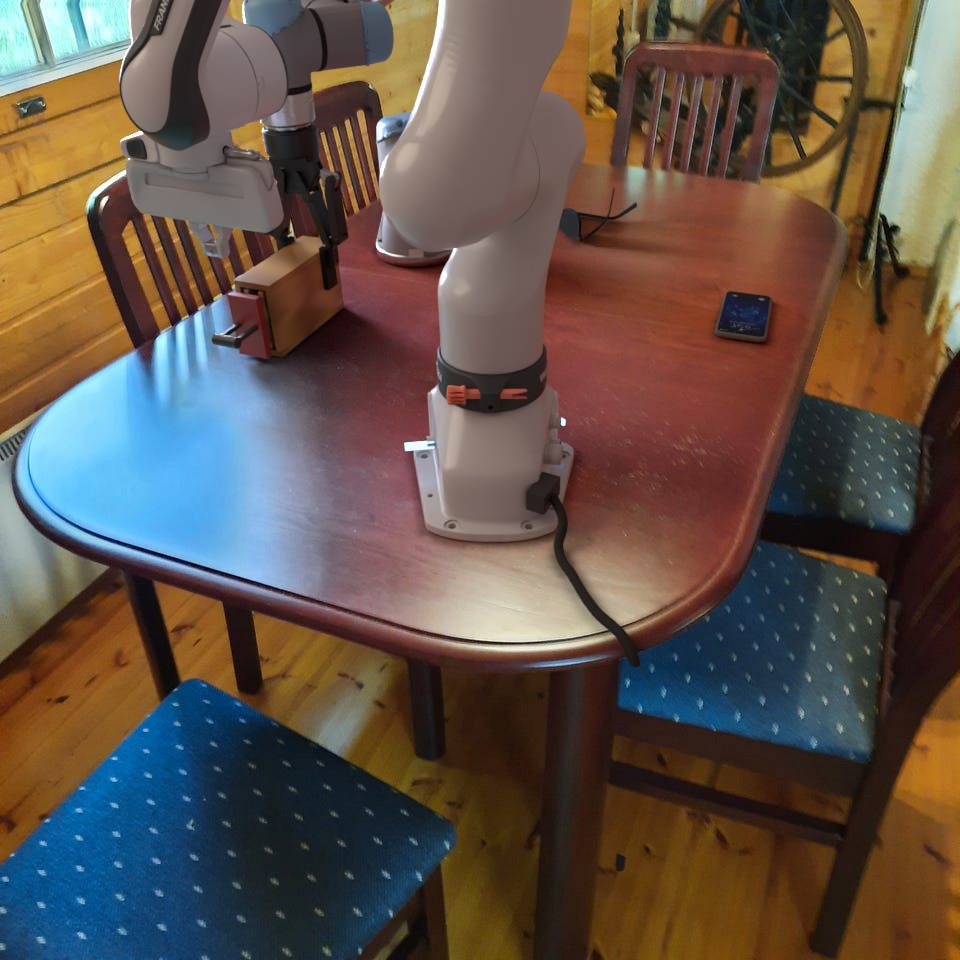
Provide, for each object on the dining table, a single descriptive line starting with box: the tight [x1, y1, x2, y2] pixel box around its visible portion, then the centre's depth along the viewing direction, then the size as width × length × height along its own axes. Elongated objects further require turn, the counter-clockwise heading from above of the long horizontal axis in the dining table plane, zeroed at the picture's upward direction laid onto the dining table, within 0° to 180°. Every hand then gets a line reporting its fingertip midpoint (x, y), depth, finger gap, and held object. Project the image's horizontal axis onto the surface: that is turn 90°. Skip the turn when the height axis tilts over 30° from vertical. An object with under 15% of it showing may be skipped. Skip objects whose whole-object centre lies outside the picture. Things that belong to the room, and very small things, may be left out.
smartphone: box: [714, 290, 774, 343], centre depth 128 cm, size 7×1×15 cm
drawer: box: [211, 288, 275, 360], centre depth 121 cm, size 22×5×9 cm, turn 157°
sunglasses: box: [558, 187, 638, 242], centre depth 159 cm, size 17×14×5 cm
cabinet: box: [233, 235, 345, 358], centre depth 126 cm, size 18×6×11 cm, turn 157°
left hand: (312, 283), depth 130 cm, fingers closed on cabinet, 6 cm apart
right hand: (217, 255), depth 109 cm, fingers closed
